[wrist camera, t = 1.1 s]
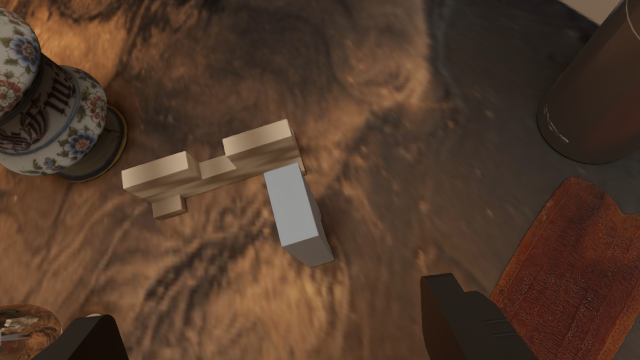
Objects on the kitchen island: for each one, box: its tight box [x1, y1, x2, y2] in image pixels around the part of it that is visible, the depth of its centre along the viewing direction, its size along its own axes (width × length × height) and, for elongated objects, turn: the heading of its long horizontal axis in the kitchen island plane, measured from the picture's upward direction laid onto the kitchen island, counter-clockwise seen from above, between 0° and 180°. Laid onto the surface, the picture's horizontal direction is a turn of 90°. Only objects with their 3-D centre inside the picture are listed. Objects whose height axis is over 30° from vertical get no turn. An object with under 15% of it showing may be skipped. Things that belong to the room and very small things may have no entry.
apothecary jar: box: [0, 7, 127, 182], centre depth 35 cm, size 12×12×18 cm
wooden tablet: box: [489, 177, 640, 360], centre depth 32 cm, size 27×10×2 cm, turn 143°
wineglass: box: [0, 304, 103, 360], centre depth 30 cm, size 6×6×12 cm
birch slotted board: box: [122, 119, 306, 220], centre depth 37 cm, size 16×5×6 cm, turn 106°
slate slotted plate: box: [264, 162, 334, 268], centre depth 31 cm, size 2×5×12 cm, turn 16°
